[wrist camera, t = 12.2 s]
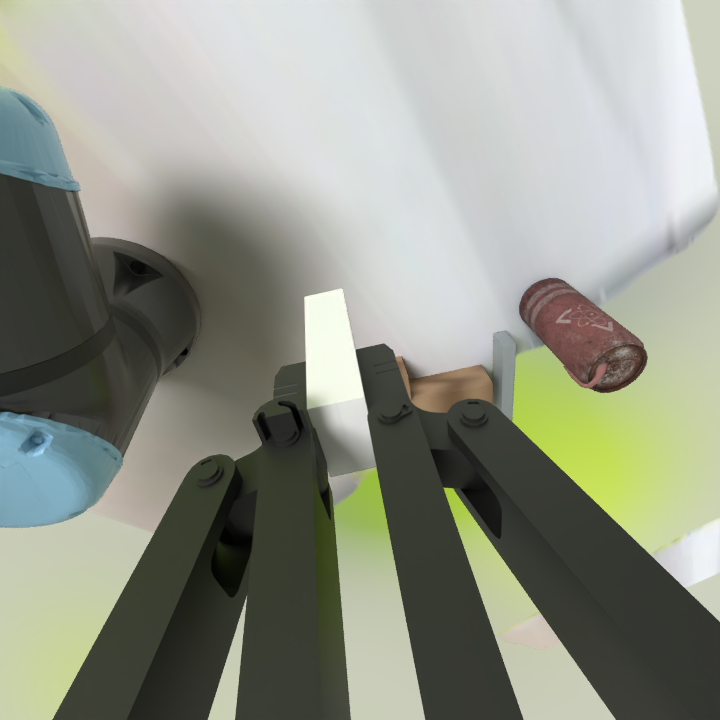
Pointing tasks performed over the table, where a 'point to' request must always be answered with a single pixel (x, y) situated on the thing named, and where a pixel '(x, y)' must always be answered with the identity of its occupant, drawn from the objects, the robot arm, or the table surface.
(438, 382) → the t block
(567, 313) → the can
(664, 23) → the table surface
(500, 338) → the bracket
